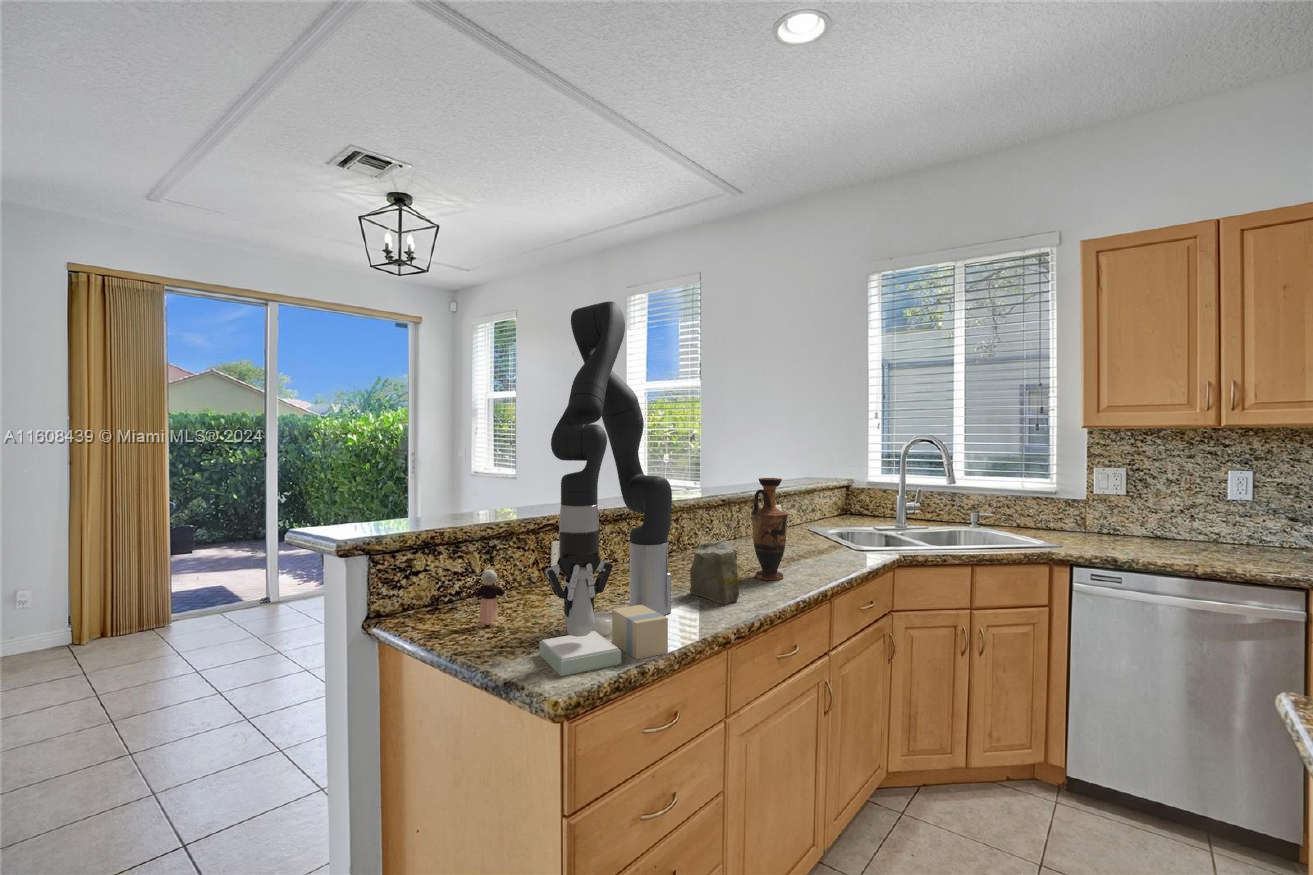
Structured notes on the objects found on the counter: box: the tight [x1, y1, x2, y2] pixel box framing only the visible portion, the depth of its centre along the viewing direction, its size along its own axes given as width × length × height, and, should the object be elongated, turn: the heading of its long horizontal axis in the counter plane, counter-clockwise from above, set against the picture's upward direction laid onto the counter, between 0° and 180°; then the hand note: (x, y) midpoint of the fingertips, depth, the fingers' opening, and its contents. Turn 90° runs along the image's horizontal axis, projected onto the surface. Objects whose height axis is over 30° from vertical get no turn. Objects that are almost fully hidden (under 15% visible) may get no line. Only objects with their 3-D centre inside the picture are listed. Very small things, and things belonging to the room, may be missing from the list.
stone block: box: [689, 538, 740, 605], centre depth 163 cm, size 10×15×15 cm
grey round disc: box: [591, 612, 612, 638], centre depth 134 cm, size 6×6×3 cm
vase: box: [750, 477, 789, 581], centre depth 184 cm, size 11×11×30 cm
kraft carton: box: [611, 605, 669, 661], centre depth 124 cm, size 7×11×7 cm, turn 29°
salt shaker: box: [563, 567, 595, 637], centre depth 118 cm, size 6×6×13 cm
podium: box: [539, 631, 622, 677], centre depth 118 cm, size 12×12×3 cm
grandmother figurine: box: [471, 569, 508, 629], centre depth 138 cm, size 8×4×13 cm, turn 112°
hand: (579, 616), depth 118 cm, fingers closed on salt shaker, 3 cm apart
